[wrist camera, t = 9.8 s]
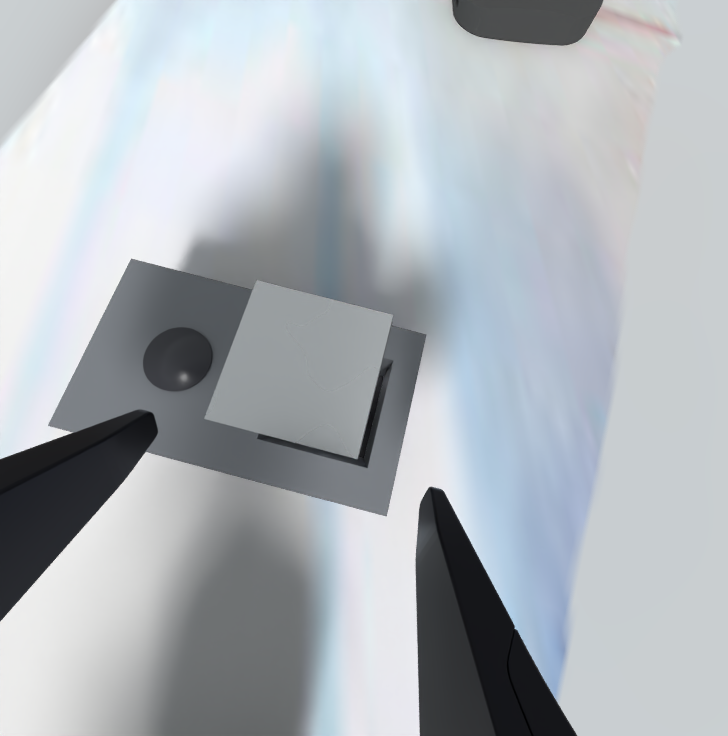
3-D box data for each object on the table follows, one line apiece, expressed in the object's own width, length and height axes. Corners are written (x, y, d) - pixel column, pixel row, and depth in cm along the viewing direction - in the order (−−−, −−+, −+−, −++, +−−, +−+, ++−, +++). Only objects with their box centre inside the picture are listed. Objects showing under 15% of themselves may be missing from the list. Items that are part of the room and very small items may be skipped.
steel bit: (354, 440, 20) (358, 461, 7) (298, 425, 20) (201, 420, 7) (369, 384, 21) (395, 313, 8) (315, 370, 21) (255, 277, 8)
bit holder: (377, 493, 19) (386, 517, 14) (125, 426, 19) (44, 425, 14) (409, 356, 21) (427, 333, 16) (181, 297, 21) (129, 257, 16)
